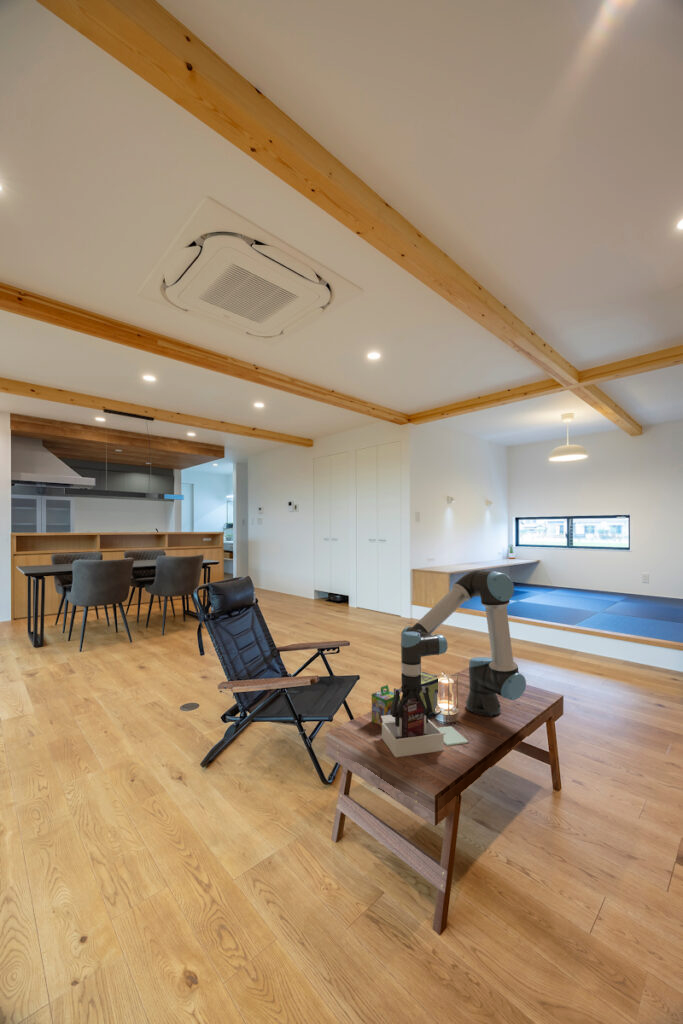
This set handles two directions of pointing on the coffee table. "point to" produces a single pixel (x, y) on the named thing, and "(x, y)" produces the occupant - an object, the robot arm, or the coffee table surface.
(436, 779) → the coffee table surface
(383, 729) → the carton
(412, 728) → the supplement box
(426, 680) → the protein box
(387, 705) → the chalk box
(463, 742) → the felt pad
